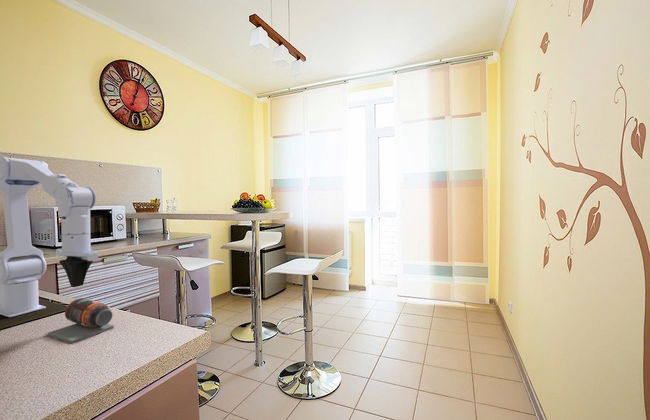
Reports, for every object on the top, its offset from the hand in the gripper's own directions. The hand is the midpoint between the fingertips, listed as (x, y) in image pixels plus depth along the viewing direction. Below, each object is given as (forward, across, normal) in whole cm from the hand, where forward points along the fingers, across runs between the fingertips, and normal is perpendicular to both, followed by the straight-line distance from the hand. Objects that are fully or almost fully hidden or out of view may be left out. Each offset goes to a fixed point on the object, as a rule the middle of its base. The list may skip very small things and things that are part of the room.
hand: (77, 286), depth 77 cm
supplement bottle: (+6, -1, 0) cm, 6 cm away
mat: (+10, +6, -2) cm, 12 cm away
